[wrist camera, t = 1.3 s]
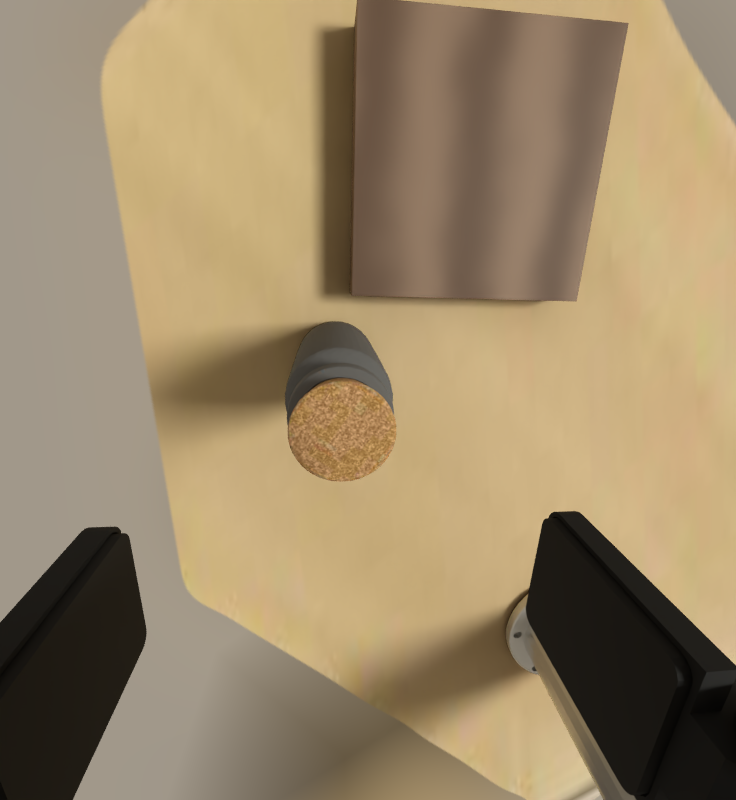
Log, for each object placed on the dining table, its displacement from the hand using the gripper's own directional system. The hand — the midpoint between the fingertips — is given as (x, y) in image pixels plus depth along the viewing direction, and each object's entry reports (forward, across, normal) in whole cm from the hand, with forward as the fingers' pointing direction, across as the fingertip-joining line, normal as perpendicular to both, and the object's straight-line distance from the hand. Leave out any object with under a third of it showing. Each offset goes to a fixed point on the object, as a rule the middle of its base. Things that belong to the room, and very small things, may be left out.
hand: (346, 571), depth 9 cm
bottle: (+24, 0, 0) cm, 24 cm away
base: (+24, -9, -12) cm, 28 cm away
